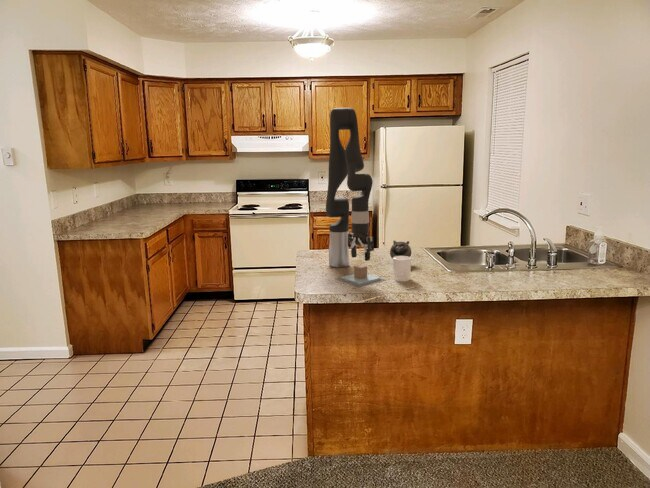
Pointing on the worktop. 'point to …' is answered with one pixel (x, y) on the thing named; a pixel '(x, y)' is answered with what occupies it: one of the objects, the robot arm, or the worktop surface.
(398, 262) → the white cup
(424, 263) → the worktop surface
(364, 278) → the lid
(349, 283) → the mat
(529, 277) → the worktop surface
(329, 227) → the robot arm
